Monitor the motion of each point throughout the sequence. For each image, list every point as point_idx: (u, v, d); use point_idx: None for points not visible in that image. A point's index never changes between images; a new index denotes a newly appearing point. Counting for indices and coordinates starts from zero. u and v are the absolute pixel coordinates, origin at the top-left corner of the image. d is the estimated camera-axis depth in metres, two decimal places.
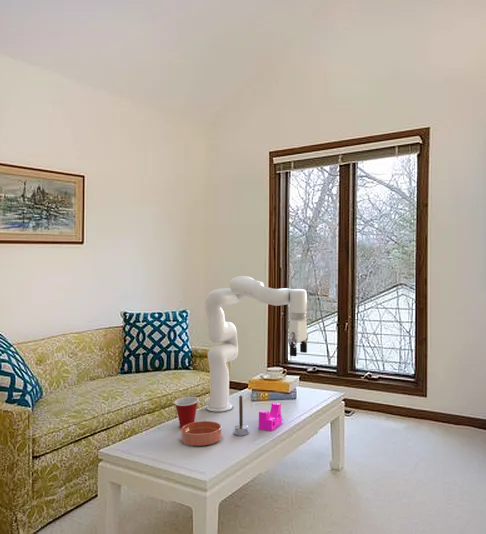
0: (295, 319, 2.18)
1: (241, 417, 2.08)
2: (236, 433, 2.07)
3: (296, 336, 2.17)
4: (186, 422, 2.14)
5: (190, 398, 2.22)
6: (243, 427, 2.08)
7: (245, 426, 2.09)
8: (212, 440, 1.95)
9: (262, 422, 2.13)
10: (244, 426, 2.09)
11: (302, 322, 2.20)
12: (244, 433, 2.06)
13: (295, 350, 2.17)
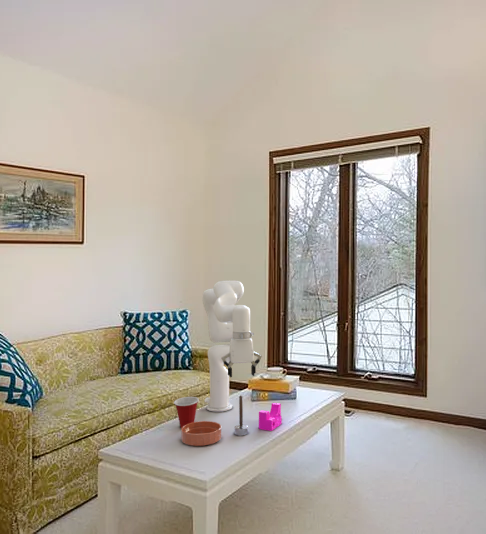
0: (233, 338, 2.07)
1: (241, 417, 2.08)
2: (236, 433, 2.07)
3: (230, 356, 2.05)
4: (186, 422, 2.14)
5: (190, 398, 2.22)
6: (243, 427, 2.08)
7: (245, 426, 2.09)
8: (212, 440, 1.95)
9: (262, 422, 2.13)
10: (244, 426, 2.09)
11: (240, 342, 2.06)
12: (244, 433, 2.06)
13: (230, 371, 2.06)
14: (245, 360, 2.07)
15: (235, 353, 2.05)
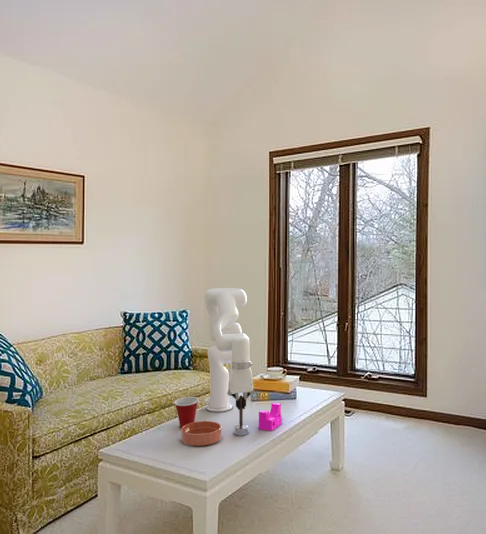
0: (232, 368, 2.07)
1: (241, 417, 2.08)
2: (236, 433, 2.07)
3: (230, 386, 2.06)
4: (186, 422, 2.14)
5: (190, 398, 2.22)
6: (243, 427, 2.08)
7: (245, 426, 2.09)
8: (212, 440, 1.95)
9: (262, 422, 2.13)
10: (244, 426, 2.09)
11: (240, 372, 2.06)
12: (244, 433, 2.06)
13: None
14: (244, 390, 2.07)
15: (234, 383, 2.05)
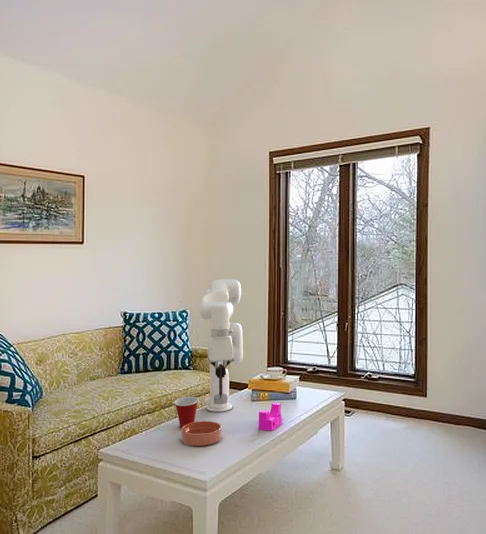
0: (211, 335, 2.03)
1: (221, 386, 2.04)
2: (216, 402, 2.03)
3: (209, 354, 2.02)
4: (186, 422, 2.14)
5: (190, 398, 2.22)
6: (223, 396, 2.04)
7: (225, 395, 2.05)
8: (212, 440, 1.95)
9: (262, 422, 2.13)
10: (224, 395, 2.05)
11: (219, 340, 2.02)
12: (224, 402, 2.03)
13: (218, 371, 2.03)
14: (224, 358, 2.03)
15: (214, 351, 2.02)
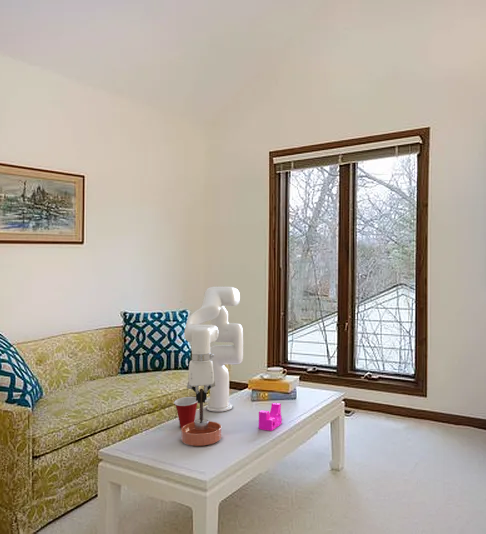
0: (192, 360, 2.00)
1: (201, 411, 2.01)
2: (196, 427, 1.99)
3: (189, 379, 1.98)
4: (186, 422, 2.14)
5: (190, 398, 2.22)
6: (204, 421, 2.01)
7: (206, 420, 2.02)
8: (212, 440, 1.95)
9: (262, 422, 2.13)
10: (205, 420, 2.02)
11: (199, 364, 1.98)
12: (204, 427, 1.99)
13: (198, 396, 2.00)
14: (204, 383, 1.99)
15: (194, 376, 1.98)
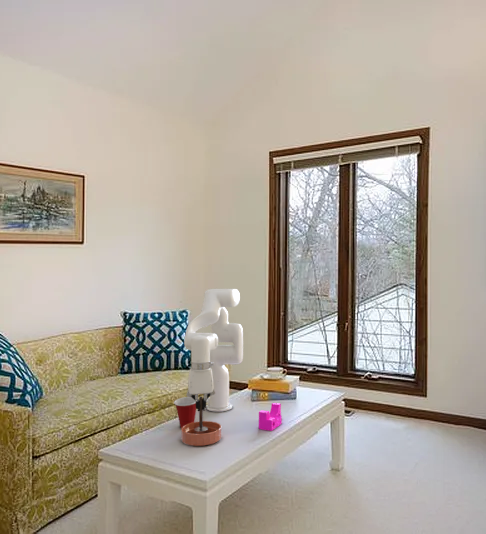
0: (191, 368, 2.01)
1: (201, 419, 2.03)
2: None
3: (189, 387, 2.00)
4: (186, 422, 2.14)
5: (190, 398, 2.22)
6: (203, 429, 2.02)
7: (205, 428, 2.04)
8: (212, 440, 1.95)
9: (262, 422, 2.13)
10: (204, 428, 2.04)
11: (199, 373, 2.00)
12: None
13: (198, 404, 2.02)
14: (204, 391, 2.01)
15: (193, 384, 2.00)
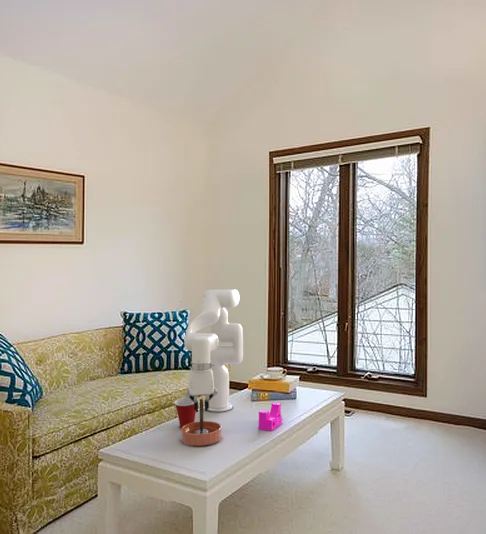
0: (192, 369, 2.00)
1: (201, 421, 2.01)
2: None
3: (189, 388, 1.98)
4: (186, 422, 2.14)
5: None
6: (204, 431, 2.01)
7: (206, 430, 2.02)
8: (212, 440, 1.95)
9: (262, 422, 2.13)
10: (205, 430, 2.02)
11: (199, 373, 1.99)
12: None
13: (196, 406, 2.00)
14: (204, 392, 2.00)
15: (194, 385, 1.98)
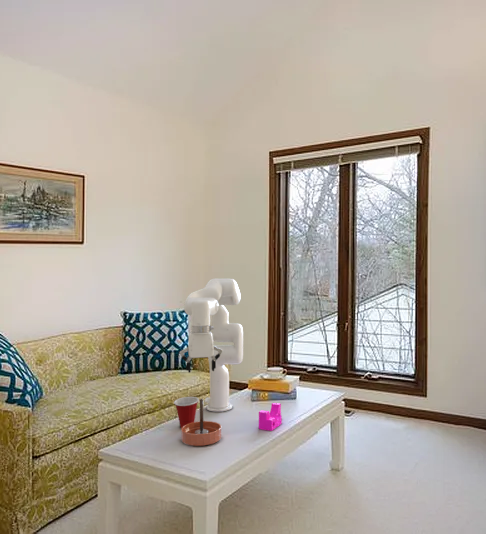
0: None
1: (201, 421, 2.01)
2: None
3: (189, 351, 1.98)
4: (186, 422, 2.14)
5: (190, 398, 2.22)
6: (204, 431, 2.01)
7: (206, 430, 2.02)
8: (212, 440, 1.95)
9: (262, 422, 2.13)
10: (205, 430, 2.02)
11: (199, 336, 1.98)
12: None
13: (188, 366, 1.99)
14: (204, 355, 1.99)
15: (194, 347, 1.98)
